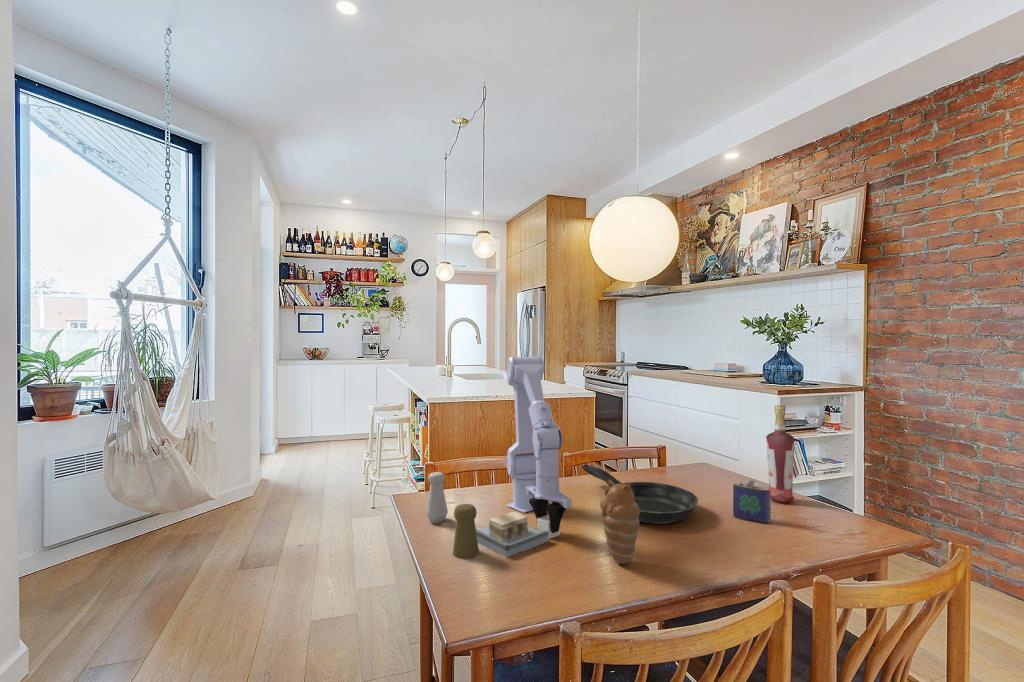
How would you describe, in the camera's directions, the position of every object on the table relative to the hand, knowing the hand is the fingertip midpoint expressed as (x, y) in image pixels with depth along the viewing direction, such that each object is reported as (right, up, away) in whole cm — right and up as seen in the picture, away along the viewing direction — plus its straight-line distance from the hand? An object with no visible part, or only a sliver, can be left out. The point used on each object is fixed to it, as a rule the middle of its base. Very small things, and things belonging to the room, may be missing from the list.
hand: (548, 528), depth 125 cm
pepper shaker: (-20, -2, -10) cm, 22 cm away
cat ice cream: (+15, -2, -16) cm, 22 cm away
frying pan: (+26, -1, +20) cm, 33 cm away
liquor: (+70, 0, +22) cm, 74 cm away
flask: (+55, -1, +8) cm, 55 cm away
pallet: (-10, 0, -3) cm, 10 cm away
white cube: (0, -1, 0) cm, 1 cm away
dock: (-10, -2, -3) cm, 10 cm away
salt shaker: (-30, -2, +11) cm, 31 cm away
